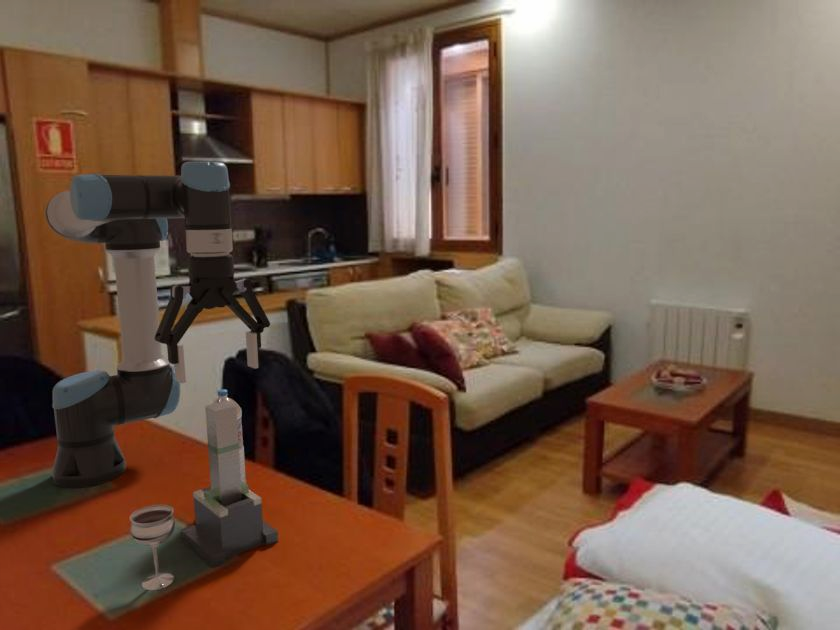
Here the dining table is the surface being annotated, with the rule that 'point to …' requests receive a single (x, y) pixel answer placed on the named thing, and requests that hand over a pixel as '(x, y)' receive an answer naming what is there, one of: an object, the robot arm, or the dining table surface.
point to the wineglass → (153, 538)
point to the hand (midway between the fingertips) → (218, 374)
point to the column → (223, 455)
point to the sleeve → (227, 528)
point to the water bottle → (222, 398)
